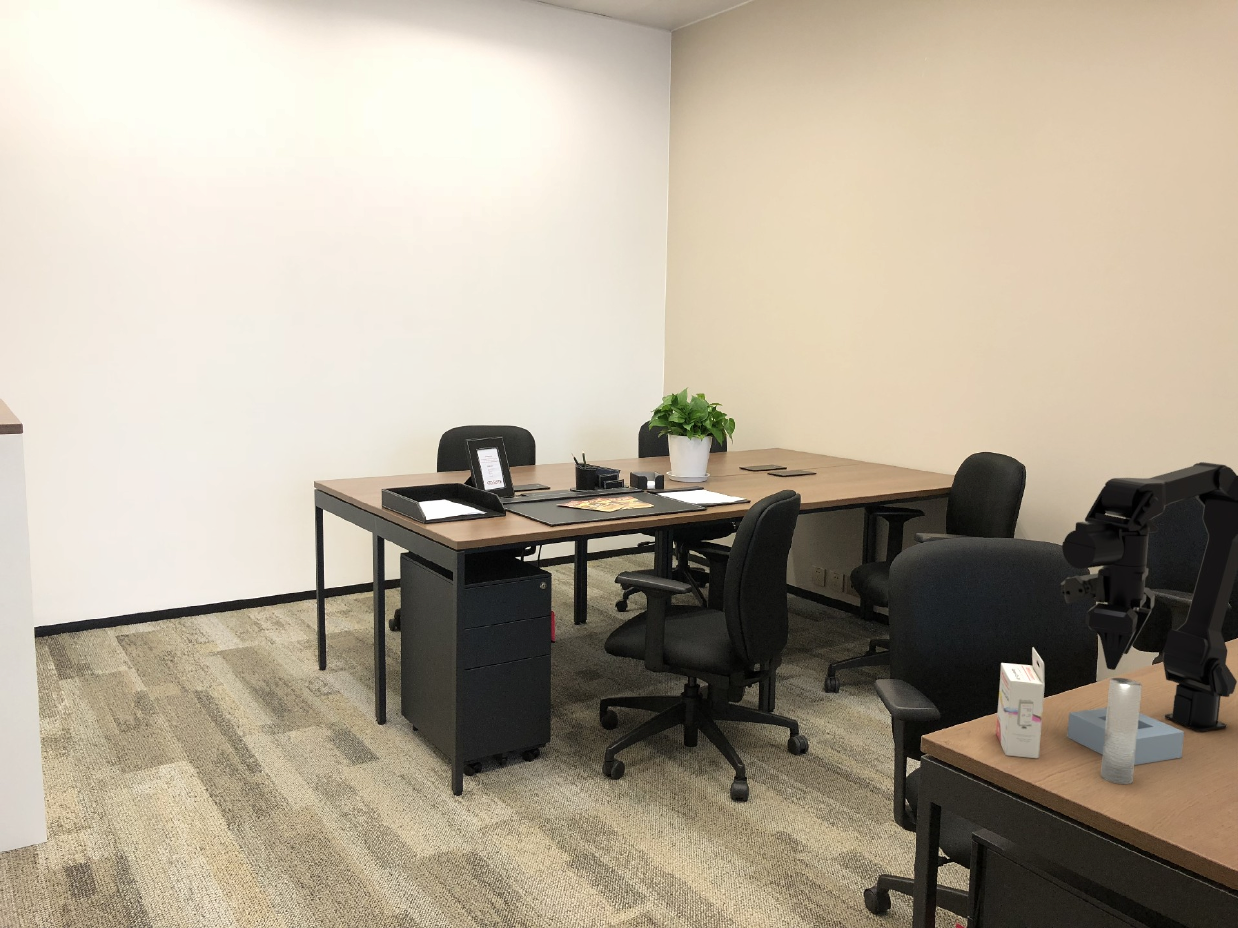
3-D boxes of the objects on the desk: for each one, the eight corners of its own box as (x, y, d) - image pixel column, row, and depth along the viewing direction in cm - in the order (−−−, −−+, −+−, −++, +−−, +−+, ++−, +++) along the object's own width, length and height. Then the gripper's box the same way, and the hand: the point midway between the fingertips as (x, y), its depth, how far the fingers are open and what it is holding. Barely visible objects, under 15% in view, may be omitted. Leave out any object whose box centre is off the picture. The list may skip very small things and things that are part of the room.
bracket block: (1120, 729, 154) (1122, 705, 153) (1181, 757, 144) (1184, 731, 143) (1067, 736, 150) (1069, 712, 149) (1125, 766, 140) (1128, 740, 139)
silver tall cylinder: (1115, 770, 138) (1124, 676, 137) (1139, 782, 135) (1148, 686, 133) (1094, 773, 137) (1103, 679, 135) (1117, 785, 133) (1126, 688, 132)
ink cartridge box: (993, 733, 151) (1001, 642, 149) (1027, 737, 150) (1035, 645, 148) (1004, 756, 142) (1012, 660, 140) (1039, 759, 141) (1048, 663, 139)
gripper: (1082, 544, 158) (1075, 636, 160) (1052, 565, 143) (1045, 666, 145) (1158, 554, 151) (1151, 649, 153) (1135, 577, 136) (1127, 682, 138)
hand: (1117, 660), depth 148 cm, fingers open, 9 cm apart
